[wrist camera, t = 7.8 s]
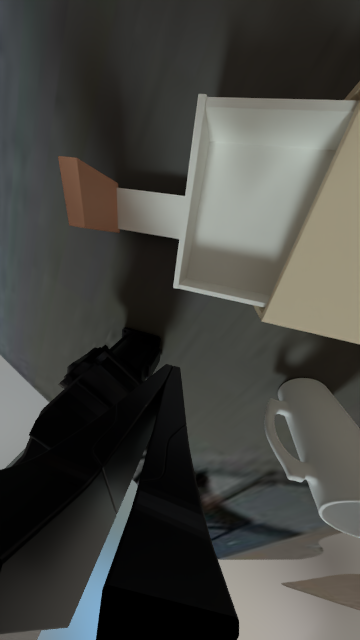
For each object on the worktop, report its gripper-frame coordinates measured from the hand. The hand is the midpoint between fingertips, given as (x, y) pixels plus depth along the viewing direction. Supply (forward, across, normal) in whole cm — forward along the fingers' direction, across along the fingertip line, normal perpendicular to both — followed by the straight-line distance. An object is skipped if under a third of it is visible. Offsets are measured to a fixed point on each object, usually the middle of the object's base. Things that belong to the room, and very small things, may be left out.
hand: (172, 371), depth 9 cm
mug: (+13, -15, +11) cm, 23 cm away
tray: (+12, -1, -9) cm, 15 cm away
